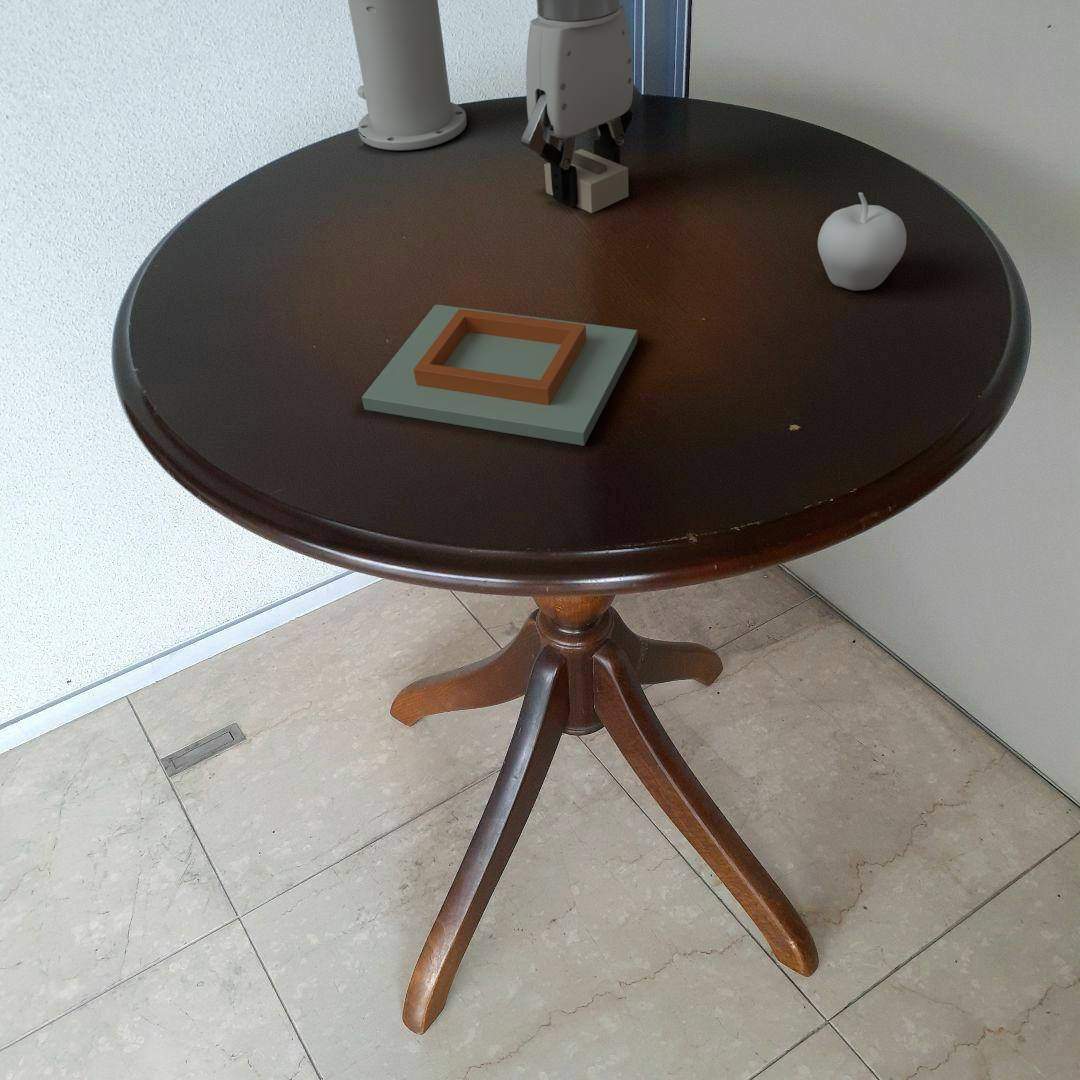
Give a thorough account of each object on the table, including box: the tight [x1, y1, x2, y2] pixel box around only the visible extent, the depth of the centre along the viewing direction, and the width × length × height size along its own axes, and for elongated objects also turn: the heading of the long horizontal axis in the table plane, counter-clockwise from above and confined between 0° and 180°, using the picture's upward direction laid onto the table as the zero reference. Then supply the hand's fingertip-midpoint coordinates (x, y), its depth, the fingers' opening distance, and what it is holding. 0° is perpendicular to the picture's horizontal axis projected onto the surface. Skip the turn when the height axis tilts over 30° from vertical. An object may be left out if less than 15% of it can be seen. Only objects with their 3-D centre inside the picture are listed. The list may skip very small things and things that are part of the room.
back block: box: [543, 148, 629, 214], centre depth 103 cm, size 7×5×4 cm
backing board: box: [361, 304, 638, 447], centre depth 81 cm, size 18×14×3 cm
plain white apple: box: [816, 191, 907, 292], centre depth 85 cm, size 7×7×8 cm
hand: (586, 190), depth 104 cm, fingers closed on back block, 5 cm apart
